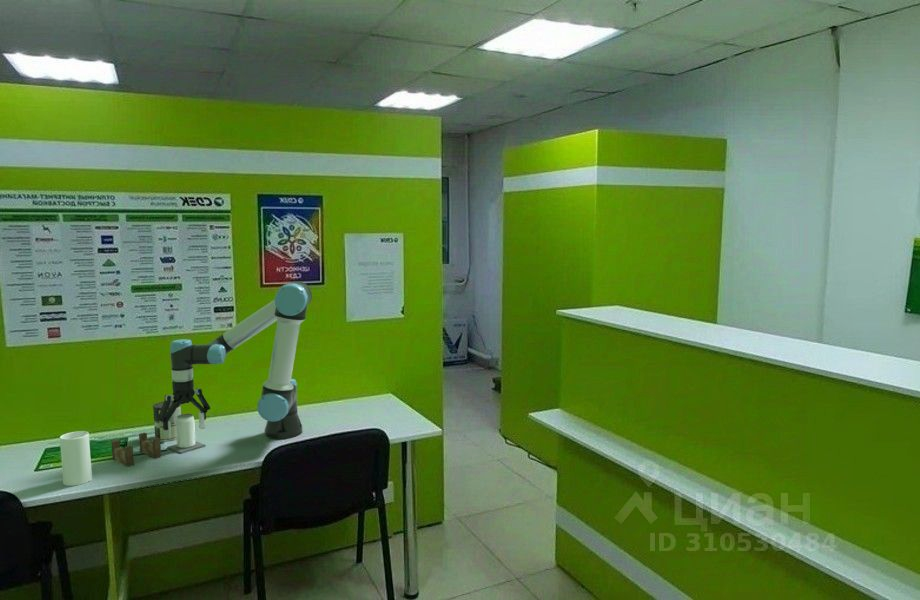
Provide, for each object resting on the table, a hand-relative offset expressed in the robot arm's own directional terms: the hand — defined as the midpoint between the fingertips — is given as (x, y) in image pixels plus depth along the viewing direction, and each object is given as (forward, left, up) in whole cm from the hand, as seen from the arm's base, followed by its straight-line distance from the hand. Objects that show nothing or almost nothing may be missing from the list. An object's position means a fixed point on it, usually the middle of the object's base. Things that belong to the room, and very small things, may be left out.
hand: (185, 433), depth 235 cm
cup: (-1, +39, -6) cm, 39 cm away
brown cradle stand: (+4, +17, -6) cm, 18 cm away
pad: (0, 0, -6) cm, 6 cm away
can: (0, 0, -5) cm, 5 cm away
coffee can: (+17, -2, -6) cm, 18 cm away
